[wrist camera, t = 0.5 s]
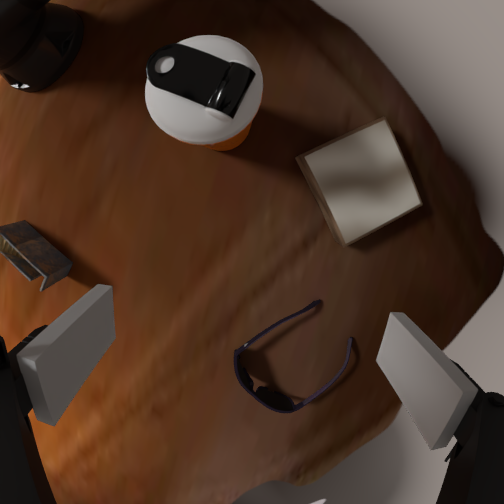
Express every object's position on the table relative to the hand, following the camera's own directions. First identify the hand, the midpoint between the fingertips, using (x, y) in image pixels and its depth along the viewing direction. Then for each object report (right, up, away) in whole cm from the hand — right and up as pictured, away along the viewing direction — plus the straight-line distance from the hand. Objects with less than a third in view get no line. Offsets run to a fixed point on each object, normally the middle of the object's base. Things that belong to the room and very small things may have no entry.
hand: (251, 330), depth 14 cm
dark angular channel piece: (-32, +4, +28) cm, 42 cm away
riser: (+13, +13, +25) cm, 31 cm away
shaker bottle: (-4, +20, +24) cm, 31 cm away
